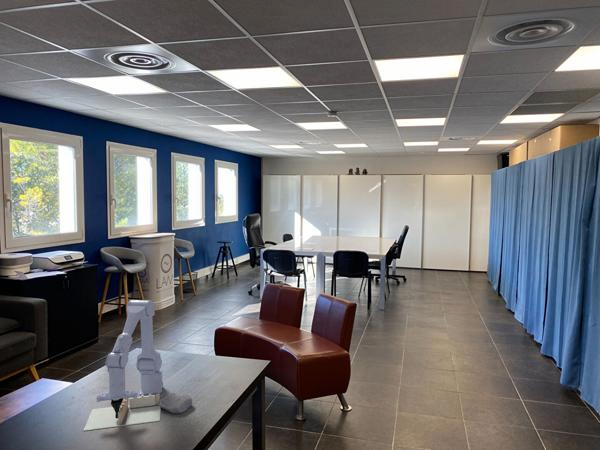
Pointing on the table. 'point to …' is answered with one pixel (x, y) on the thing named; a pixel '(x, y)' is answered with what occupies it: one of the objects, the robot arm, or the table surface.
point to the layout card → (133, 416)
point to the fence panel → (122, 412)
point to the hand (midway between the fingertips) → (117, 417)
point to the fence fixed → (143, 401)
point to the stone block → (176, 403)
